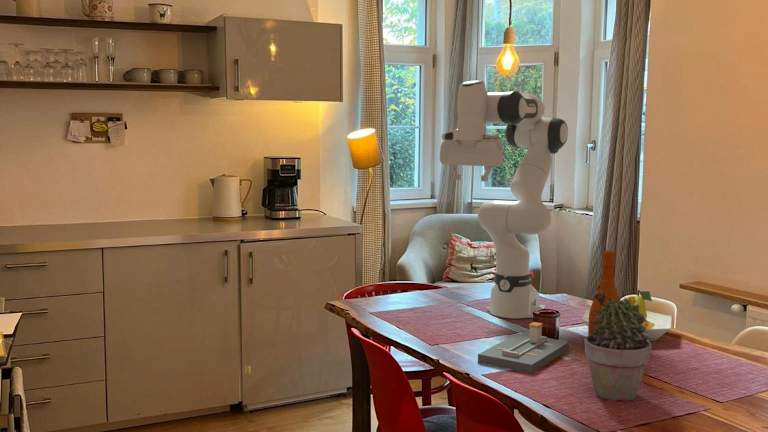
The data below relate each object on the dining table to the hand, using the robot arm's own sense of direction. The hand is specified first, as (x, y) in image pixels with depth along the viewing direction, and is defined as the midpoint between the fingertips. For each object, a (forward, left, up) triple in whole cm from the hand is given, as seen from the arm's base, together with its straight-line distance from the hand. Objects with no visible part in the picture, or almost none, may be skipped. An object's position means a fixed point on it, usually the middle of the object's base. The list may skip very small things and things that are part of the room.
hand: (470, 180), depth 234 cm
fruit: (-30, +40, -48) cm, 69 cm away
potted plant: (+25, +56, -48) cm, 78 cm away
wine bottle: (-5, +42, -48) cm, 64 cm away
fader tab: (+3, +24, -45) cm, 52 cm away
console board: (+10, +24, -48) cm, 55 cm away
